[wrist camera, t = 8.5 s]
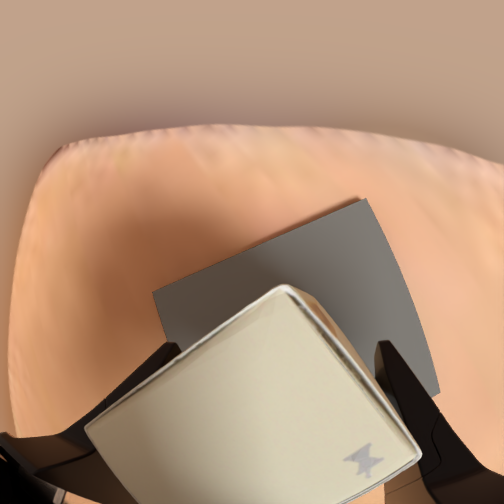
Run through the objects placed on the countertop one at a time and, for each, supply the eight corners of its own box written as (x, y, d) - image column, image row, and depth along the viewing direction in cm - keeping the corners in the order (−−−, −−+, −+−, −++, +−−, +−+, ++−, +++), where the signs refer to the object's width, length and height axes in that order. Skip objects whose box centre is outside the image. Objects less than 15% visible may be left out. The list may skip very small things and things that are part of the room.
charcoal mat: (436, 389, 14) (440, 392, 13) (224, 461, 16) (221, 466, 16) (364, 202, 18) (365, 198, 17) (158, 292, 20) (152, 292, 19)
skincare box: (312, 293, 16) (299, 255, 4) (356, 350, 15) (444, 447, 3) (227, 357, 16) (71, 425, 5) (269, 412, 15) (182, 554, 3)
